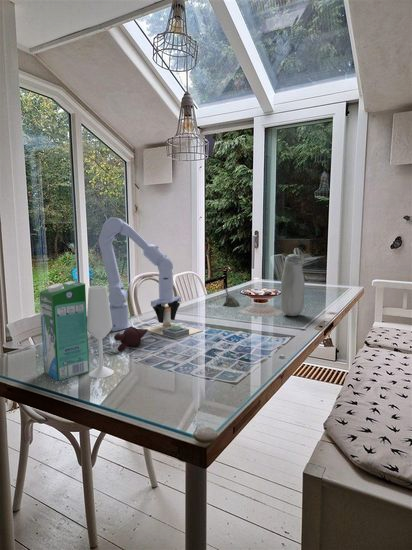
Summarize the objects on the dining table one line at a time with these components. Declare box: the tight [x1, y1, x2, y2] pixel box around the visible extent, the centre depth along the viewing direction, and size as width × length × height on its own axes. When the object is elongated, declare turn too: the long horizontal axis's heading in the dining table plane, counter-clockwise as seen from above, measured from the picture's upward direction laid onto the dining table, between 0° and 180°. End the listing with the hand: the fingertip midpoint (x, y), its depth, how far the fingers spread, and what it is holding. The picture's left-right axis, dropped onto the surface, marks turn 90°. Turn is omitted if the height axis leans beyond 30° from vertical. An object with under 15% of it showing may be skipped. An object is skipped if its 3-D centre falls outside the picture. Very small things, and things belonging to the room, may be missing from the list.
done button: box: [171, 323, 182, 332], centre depth 141 cm, size 4×4×3 cm
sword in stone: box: [222, 282, 241, 308], centre depth 195 cm, size 10×8×12 cm
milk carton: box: [38, 280, 90, 382], centre depth 103 cm, size 9×9×25 cm
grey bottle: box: [280, 253, 305, 317], centre depth 170 cm, size 10×10×28 cm
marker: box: [162, 306, 172, 326], centre depth 154 cm, size 3×3×8 cm
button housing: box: [162, 327, 189, 339], centre depth 141 cm, size 7×7×2 cm
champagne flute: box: [86, 285, 115, 379], centre depth 103 cm, size 7×7×24 cm
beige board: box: [142, 322, 204, 340], centre depth 148 cm, size 14×20×1 cm
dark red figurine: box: [113, 326, 149, 352], centre depth 128 cm, size 7×7×15 cm
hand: (166, 321), depth 154 cm, fingers open, 6 cm apart
